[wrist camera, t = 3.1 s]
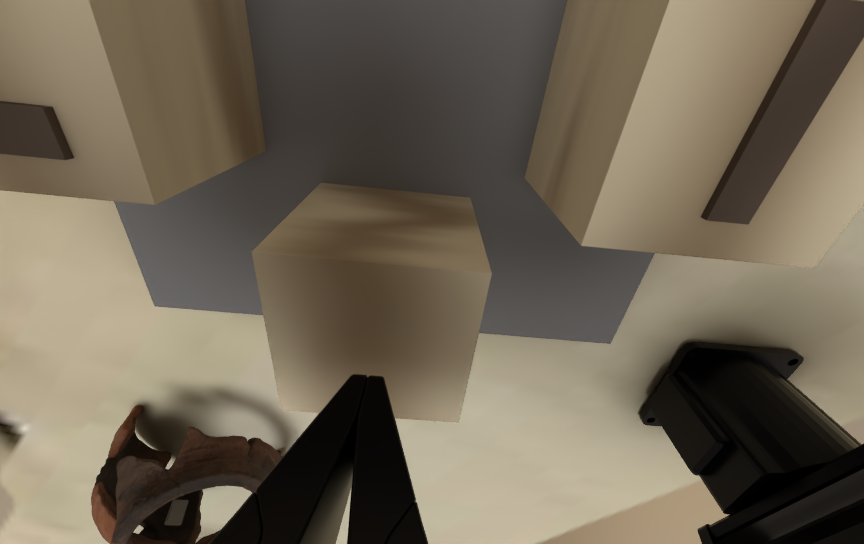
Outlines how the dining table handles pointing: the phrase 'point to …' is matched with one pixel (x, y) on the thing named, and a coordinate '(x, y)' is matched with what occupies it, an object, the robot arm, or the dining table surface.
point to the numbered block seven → (124, 96)
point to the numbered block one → (705, 127)
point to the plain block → (374, 297)
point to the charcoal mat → (394, 156)
